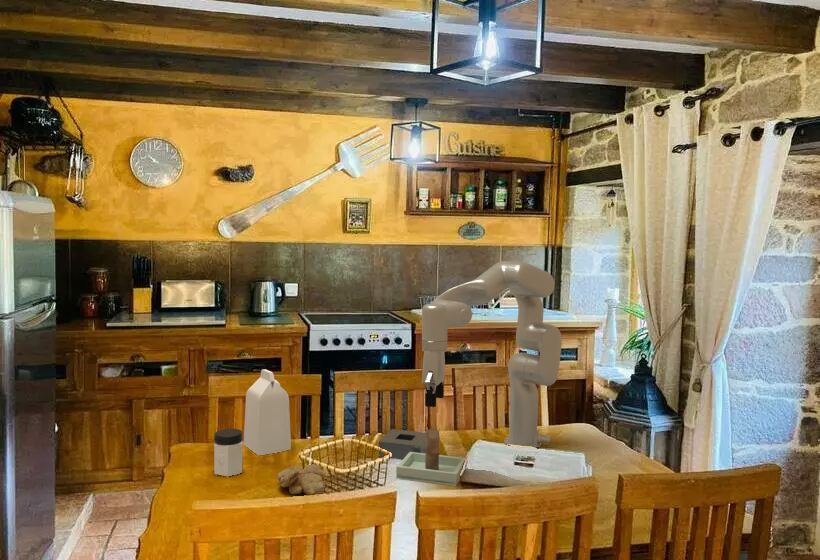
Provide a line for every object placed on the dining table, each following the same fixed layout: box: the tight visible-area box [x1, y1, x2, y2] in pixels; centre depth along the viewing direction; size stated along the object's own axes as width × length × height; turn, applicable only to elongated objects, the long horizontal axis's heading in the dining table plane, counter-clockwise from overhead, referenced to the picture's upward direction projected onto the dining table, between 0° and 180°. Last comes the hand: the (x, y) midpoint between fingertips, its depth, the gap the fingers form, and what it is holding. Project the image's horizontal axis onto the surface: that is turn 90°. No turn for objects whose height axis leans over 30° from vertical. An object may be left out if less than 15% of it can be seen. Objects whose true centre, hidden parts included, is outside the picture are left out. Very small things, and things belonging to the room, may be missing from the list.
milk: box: [243, 368, 292, 456], centre depth 217 cm, size 12×12×26 cm
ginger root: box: [276, 463, 327, 496], centre depth 184 cm, size 16×16×8 cm
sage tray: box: [395, 452, 467, 487], centre depth 197 cm, size 18×14×4 cm
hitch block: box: [378, 428, 426, 460], centre depth 216 cm, size 14×14×5 cm
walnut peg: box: [425, 428, 440, 470], centre depth 197 cm, size 4×4×12 cm
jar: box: [213, 428, 244, 477], centre depth 196 cm, size 9×8×12 cm
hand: (434, 402), depth 196 cm, fingers open, 9 cm apart
